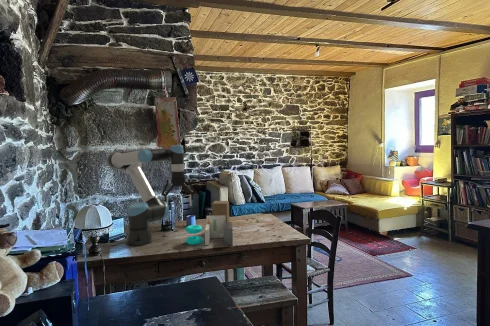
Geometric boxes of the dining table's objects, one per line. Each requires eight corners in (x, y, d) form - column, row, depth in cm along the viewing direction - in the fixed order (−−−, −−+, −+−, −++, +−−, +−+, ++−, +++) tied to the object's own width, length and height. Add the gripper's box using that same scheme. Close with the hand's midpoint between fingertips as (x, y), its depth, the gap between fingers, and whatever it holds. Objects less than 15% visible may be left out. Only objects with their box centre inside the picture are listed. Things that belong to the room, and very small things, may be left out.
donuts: (195, 223, 214) (205, 226, 207) (195, 239, 215) (206, 242, 208) (182, 226, 207) (192, 229, 200) (182, 243, 208) (192, 246, 201)
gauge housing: (205, 246, 201) (204, 222, 200) (207, 237, 219) (206, 215, 217) (232, 245, 202) (232, 221, 201) (232, 236, 219) (232, 214, 218)
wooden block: (229, 229, 236) (229, 200, 235) (227, 233, 226) (226, 203, 225) (215, 229, 237) (214, 200, 236) (212, 233, 227) (211, 203, 226)
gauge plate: (205, 245, 201) (204, 225, 200) (207, 237, 217) (206, 219, 216) (208, 245, 201) (208, 225, 201) (210, 237, 217) (209, 219, 216)
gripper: (156, 172, 199) (157, 208, 201) (199, 170, 205) (200, 205, 206) (156, 171, 206) (158, 206, 208) (198, 169, 212) (199, 203, 213)
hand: (179, 206), depth 207 cm, fingers open, 13 cm apart
